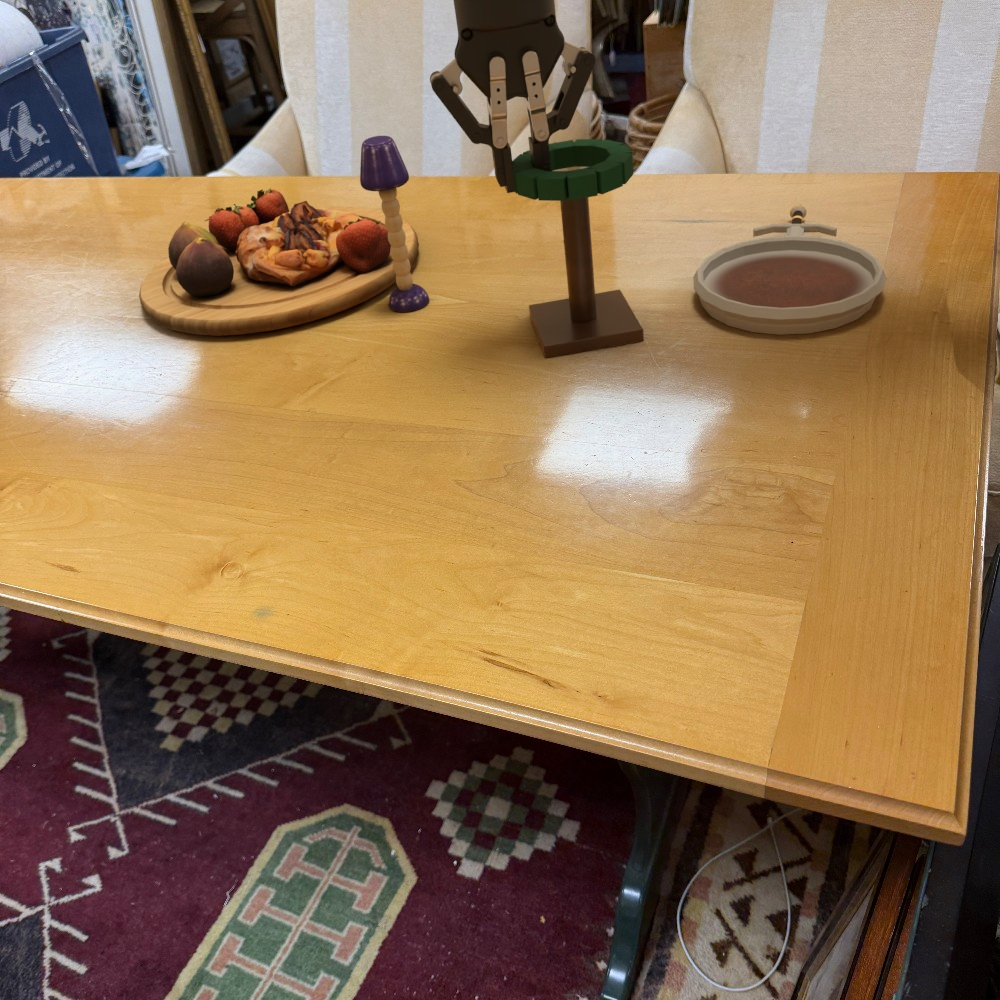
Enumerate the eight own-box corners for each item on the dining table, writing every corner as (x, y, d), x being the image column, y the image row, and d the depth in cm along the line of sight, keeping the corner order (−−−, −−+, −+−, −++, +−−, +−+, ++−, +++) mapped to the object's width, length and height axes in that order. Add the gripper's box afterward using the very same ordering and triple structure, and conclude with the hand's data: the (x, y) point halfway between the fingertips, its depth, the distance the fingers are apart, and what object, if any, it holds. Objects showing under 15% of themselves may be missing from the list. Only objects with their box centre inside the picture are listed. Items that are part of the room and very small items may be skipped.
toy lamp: (441, 301, 94) (411, 134, 84) (407, 319, 91) (372, 149, 81) (411, 291, 97) (379, 129, 87) (378, 308, 94) (340, 143, 84)
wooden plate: (478, 248, 104) (467, 176, 99) (251, 369, 87) (225, 288, 82) (307, 210, 123) (291, 148, 118) (93, 303, 106) (64, 234, 101)
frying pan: (884, 195, 95) (889, 309, 74) (881, 222, 97) (885, 342, 76) (718, 198, 100) (679, 305, 79) (718, 224, 102) (679, 336, 81)
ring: (616, 153, 81) (615, 132, 80) (645, 187, 73) (644, 165, 72) (506, 172, 80) (503, 151, 79) (522, 208, 72) (519, 186, 71)
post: (620, 300, 89) (613, 163, 81) (643, 341, 81) (638, 194, 73) (529, 316, 88) (513, 180, 80) (545, 358, 81) (529, 213, 73)
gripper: (407, -29, 63) (447, 216, 73) (602, -61, 63) (615, 187, 74) (402, -40, 69) (441, 187, 79) (580, -70, 69) (595, 161, 80)
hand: (524, 186), depth 76 cm, fingers closed on ring, 2 cm apart
